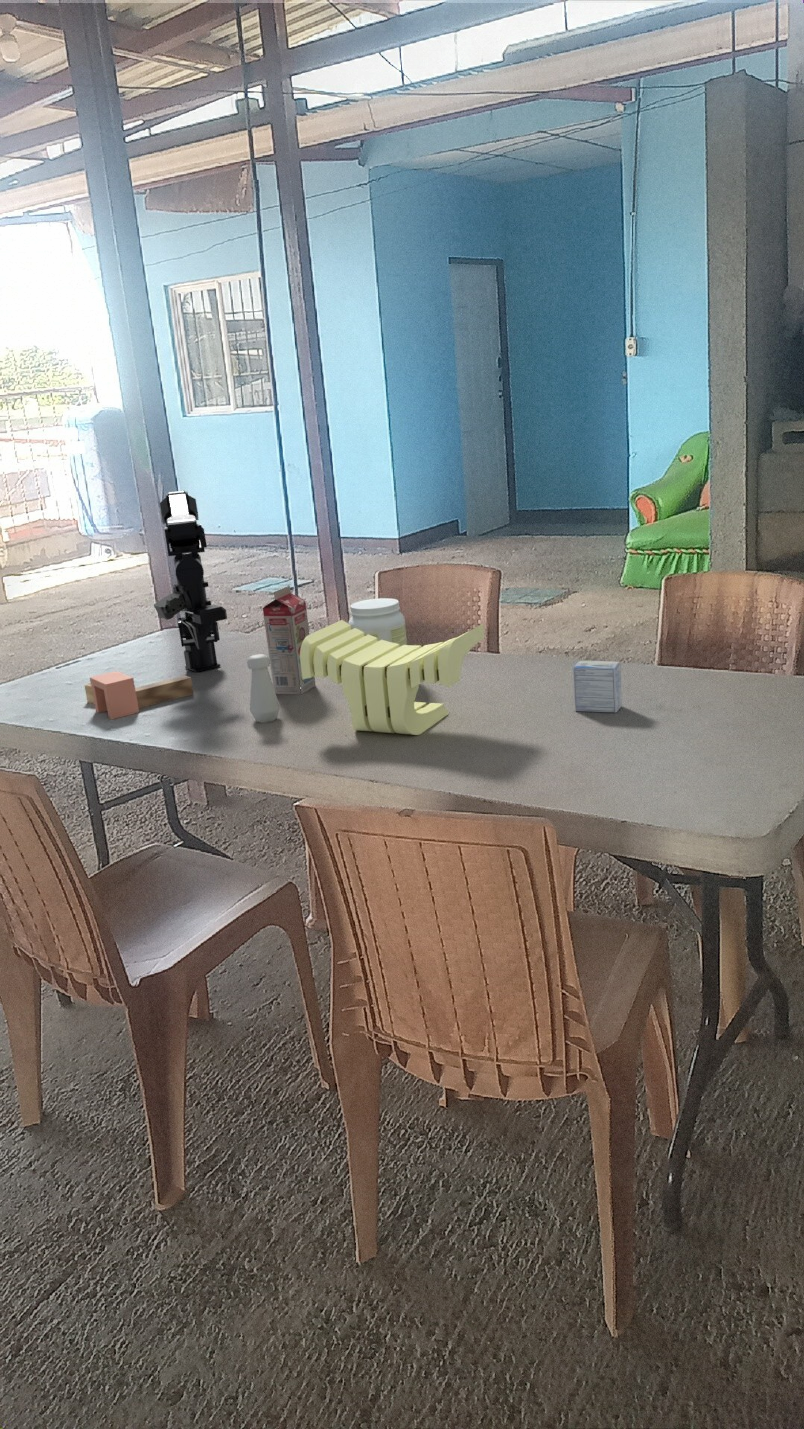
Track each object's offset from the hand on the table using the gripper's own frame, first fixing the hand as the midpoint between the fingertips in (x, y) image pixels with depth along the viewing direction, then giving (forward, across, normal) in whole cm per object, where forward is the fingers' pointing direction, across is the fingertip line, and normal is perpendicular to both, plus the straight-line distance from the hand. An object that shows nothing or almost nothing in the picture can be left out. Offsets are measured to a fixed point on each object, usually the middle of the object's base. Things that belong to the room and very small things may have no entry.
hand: (200, 648), depth 236 cm
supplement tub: (+9, +28, +28) cm, 41 cm away
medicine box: (+9, +79, +41) cm, 90 cm away
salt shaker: (+9, +32, -3) cm, 34 cm away
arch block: (+9, 0, -21) cm, 23 cm away
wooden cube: (+9, -12, -20) cm, 25 cm away
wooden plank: (+9, 0, -13) cm, 16 cm away
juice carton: (+9, +18, +12) cm, 24 cm away
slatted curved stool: (+9, +56, +12) cm, 58 cm away
